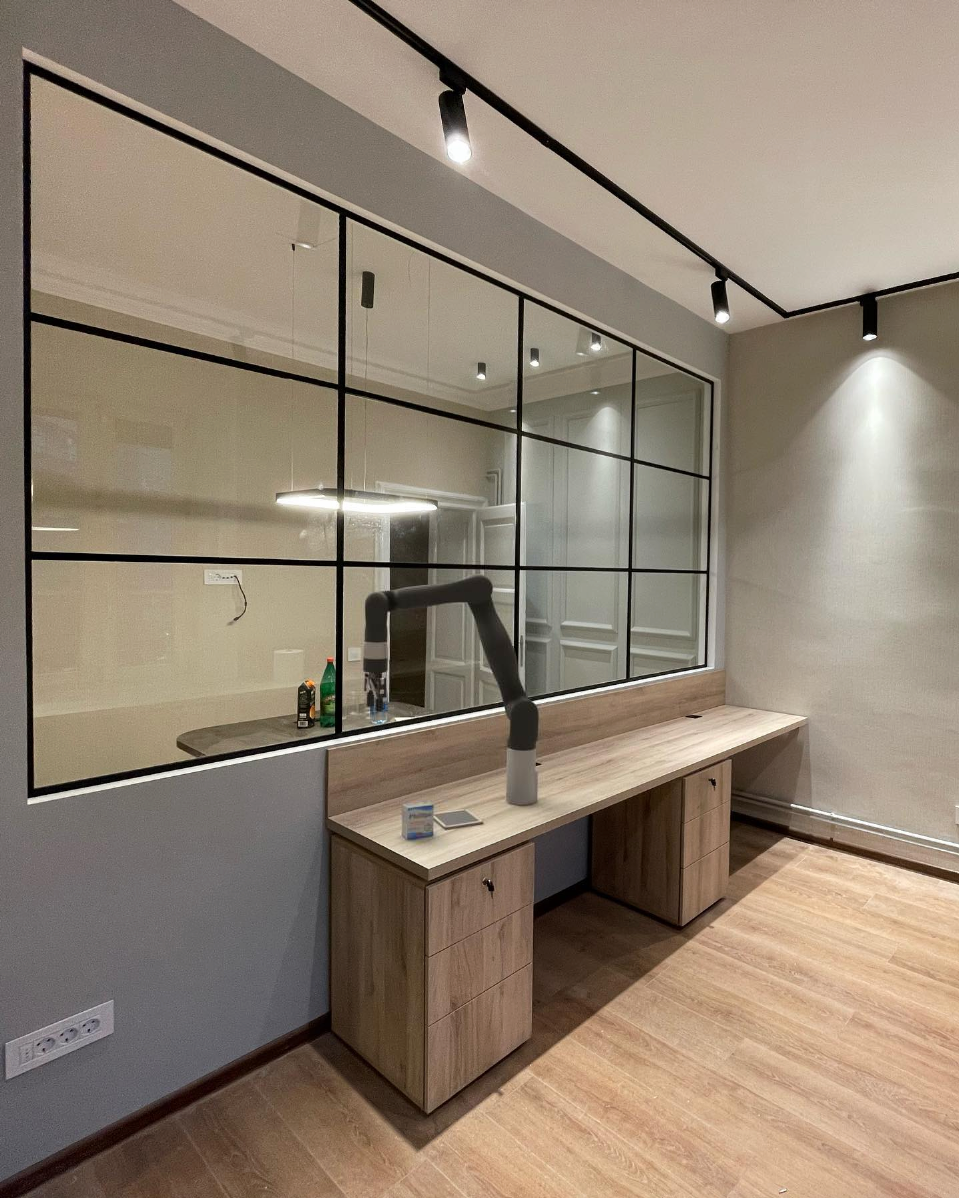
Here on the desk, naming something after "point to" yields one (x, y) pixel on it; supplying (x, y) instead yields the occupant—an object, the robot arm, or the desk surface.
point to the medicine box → (417, 820)
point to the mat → (456, 819)
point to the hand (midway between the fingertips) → (374, 708)
